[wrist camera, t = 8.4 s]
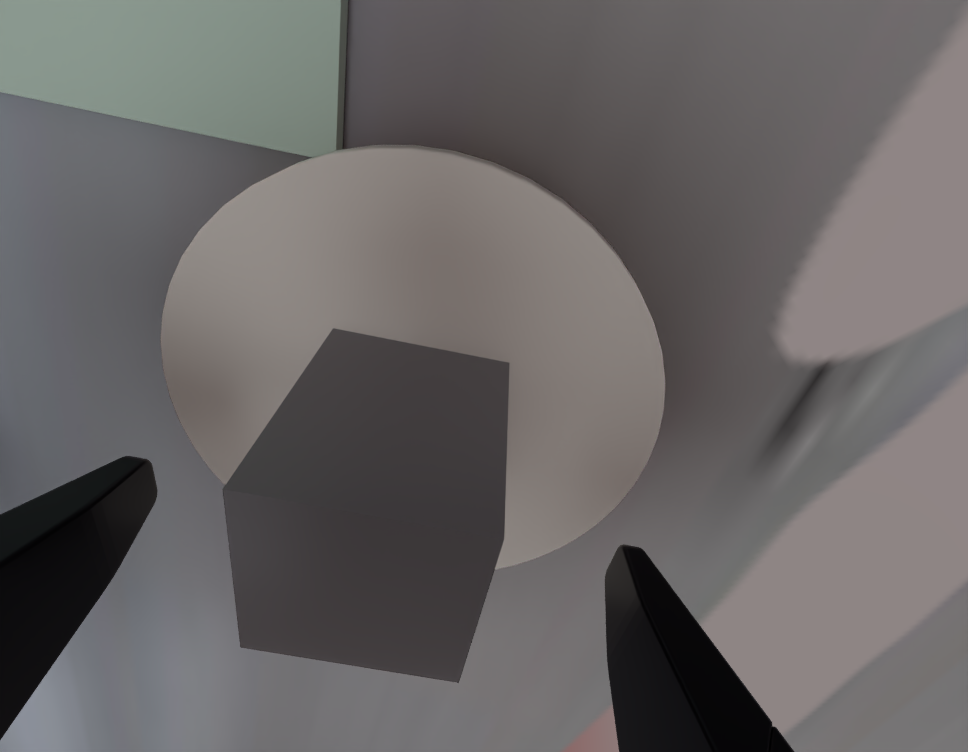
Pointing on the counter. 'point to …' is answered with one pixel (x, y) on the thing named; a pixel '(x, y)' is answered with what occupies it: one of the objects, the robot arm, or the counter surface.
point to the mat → (188, 65)
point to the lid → (404, 394)
